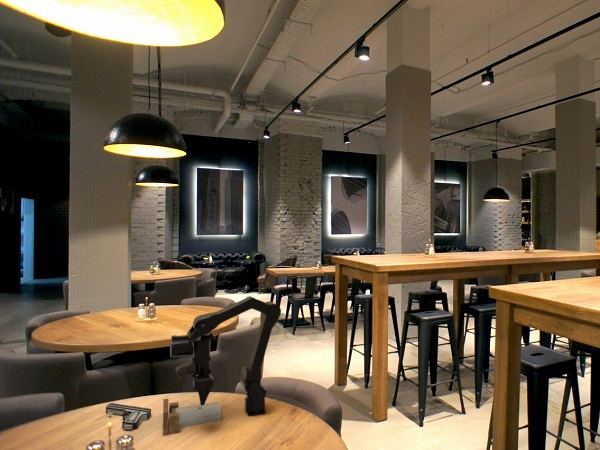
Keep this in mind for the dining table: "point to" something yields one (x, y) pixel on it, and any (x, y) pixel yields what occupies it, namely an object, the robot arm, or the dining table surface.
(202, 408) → the rail
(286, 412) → the dining table surface
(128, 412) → the handgun
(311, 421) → the dining table surface
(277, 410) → the dining table surface
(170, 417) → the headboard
